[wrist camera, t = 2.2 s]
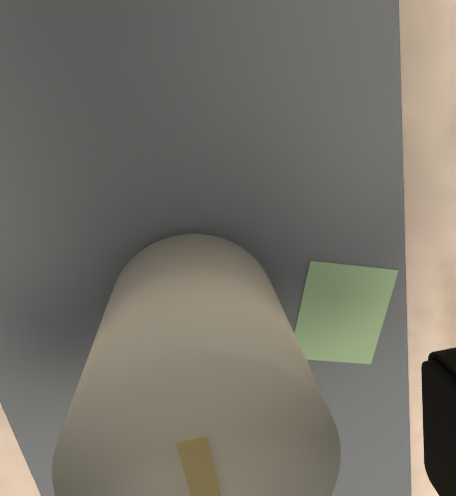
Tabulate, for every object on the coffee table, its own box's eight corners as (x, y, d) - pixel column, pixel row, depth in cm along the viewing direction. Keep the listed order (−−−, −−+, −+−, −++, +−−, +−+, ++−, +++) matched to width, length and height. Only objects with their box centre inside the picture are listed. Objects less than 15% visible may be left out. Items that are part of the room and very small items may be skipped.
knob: (94, 244, 13) (6, 391, 6) (259, 213, 13) (330, 326, 7) (158, 460, 16) (140, 705, 9) (292, 433, 16) (362, 655, 10)
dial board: (-156, -47, 11) (-208, -68, 10) (369, -134, 12) (395, -166, 10) (83, 538, 19) (75, 576, 17) (395, 472, 19) (412, 504, 18)
